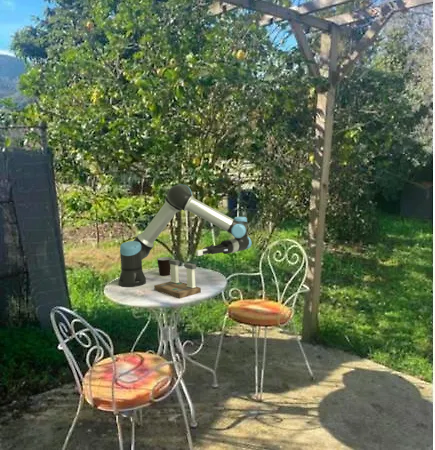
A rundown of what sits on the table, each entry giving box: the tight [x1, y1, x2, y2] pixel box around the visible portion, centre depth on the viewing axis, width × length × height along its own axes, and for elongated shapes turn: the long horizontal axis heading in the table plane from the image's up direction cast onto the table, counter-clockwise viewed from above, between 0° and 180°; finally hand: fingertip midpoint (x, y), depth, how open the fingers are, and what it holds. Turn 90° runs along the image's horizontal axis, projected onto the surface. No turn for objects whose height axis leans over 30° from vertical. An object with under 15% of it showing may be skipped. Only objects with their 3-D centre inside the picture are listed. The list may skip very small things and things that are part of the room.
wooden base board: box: [153, 281, 202, 299], centre depth 234 cm, size 14×22×3 cm, turn 43°
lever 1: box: [169, 258, 181, 283], centre depth 241 cm, size 3×6×12 cm, turn 43°
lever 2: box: [184, 262, 197, 288], centre depth 231 cm, size 3×6×12 cm, turn 43°
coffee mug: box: [156, 256, 172, 277], centre depth 271 cm, size 12×9×10 cm
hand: (197, 253), depth 232 cm, fingers closed
